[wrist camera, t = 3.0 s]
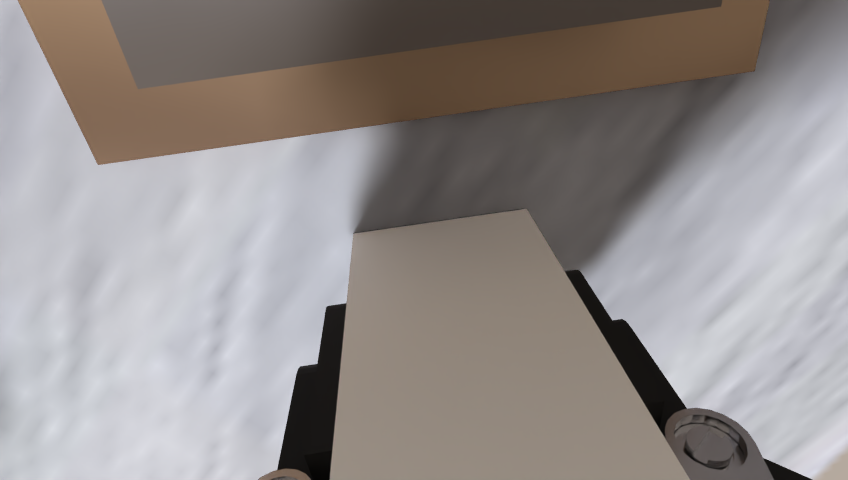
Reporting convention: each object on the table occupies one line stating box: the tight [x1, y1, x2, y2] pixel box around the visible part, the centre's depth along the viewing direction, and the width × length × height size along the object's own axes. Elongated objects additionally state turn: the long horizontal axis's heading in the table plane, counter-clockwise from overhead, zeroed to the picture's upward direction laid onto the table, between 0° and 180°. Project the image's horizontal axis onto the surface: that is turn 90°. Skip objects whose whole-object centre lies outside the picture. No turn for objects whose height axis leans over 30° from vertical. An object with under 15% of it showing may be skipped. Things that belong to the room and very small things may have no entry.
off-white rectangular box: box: [330, 209, 690, 480], centre depth 10 cm, size 4×4×8 cm
